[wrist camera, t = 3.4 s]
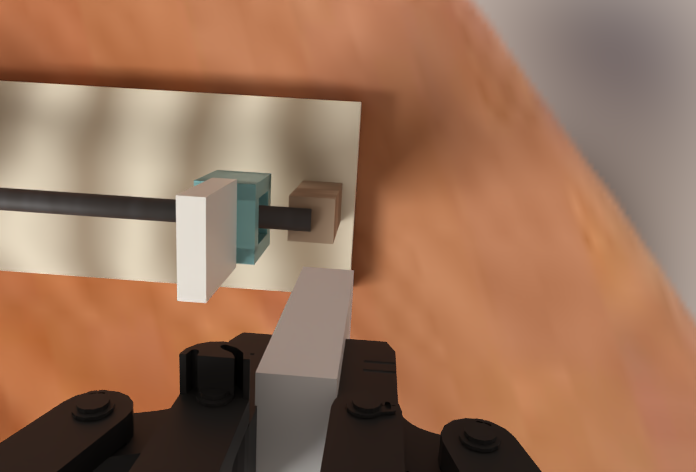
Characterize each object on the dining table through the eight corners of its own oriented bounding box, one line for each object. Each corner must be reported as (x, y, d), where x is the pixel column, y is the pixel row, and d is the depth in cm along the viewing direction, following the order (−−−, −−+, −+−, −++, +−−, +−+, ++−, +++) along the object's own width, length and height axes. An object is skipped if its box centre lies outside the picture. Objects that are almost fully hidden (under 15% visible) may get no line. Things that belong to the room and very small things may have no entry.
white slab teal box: (271, 169, 31) (228, 198, 22) (269, 247, 32) (227, 304, 23) (217, 166, 31) (153, 193, 22) (216, 244, 32) (155, 299, 24)
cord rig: (361, 102, 35) (355, 103, 26) (350, 288, 38) (340, 344, 29) (-144, 71, 36) (-306, 64, 28) (-117, 254, 39) (-256, 298, 30)
